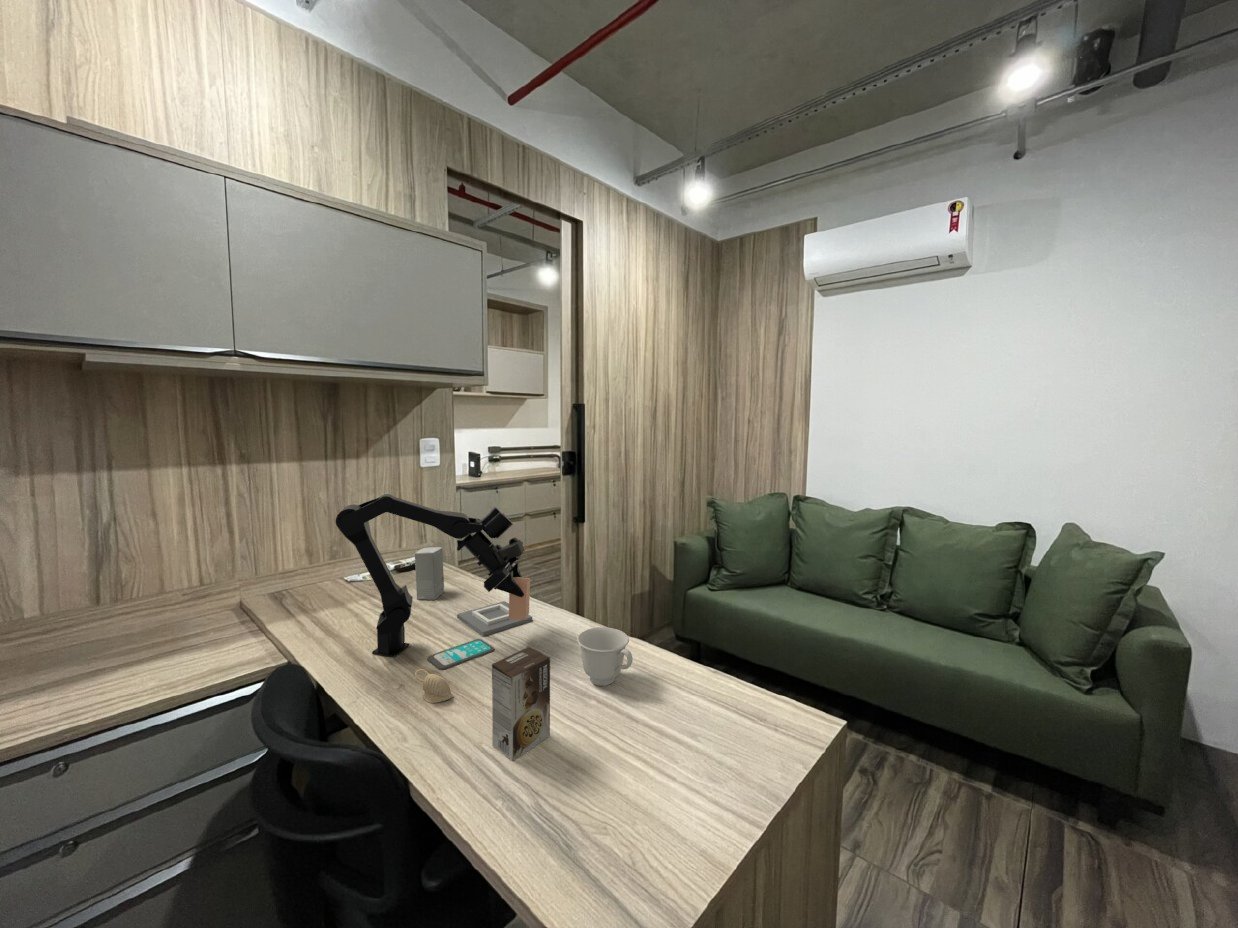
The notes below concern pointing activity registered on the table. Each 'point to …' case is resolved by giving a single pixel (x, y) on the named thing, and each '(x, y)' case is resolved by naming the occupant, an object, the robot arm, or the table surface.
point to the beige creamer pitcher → (434, 687)
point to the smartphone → (460, 654)
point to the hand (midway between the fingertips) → (524, 592)
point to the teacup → (604, 653)
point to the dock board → (490, 618)
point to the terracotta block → (520, 600)
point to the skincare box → (429, 573)
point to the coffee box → (520, 702)
